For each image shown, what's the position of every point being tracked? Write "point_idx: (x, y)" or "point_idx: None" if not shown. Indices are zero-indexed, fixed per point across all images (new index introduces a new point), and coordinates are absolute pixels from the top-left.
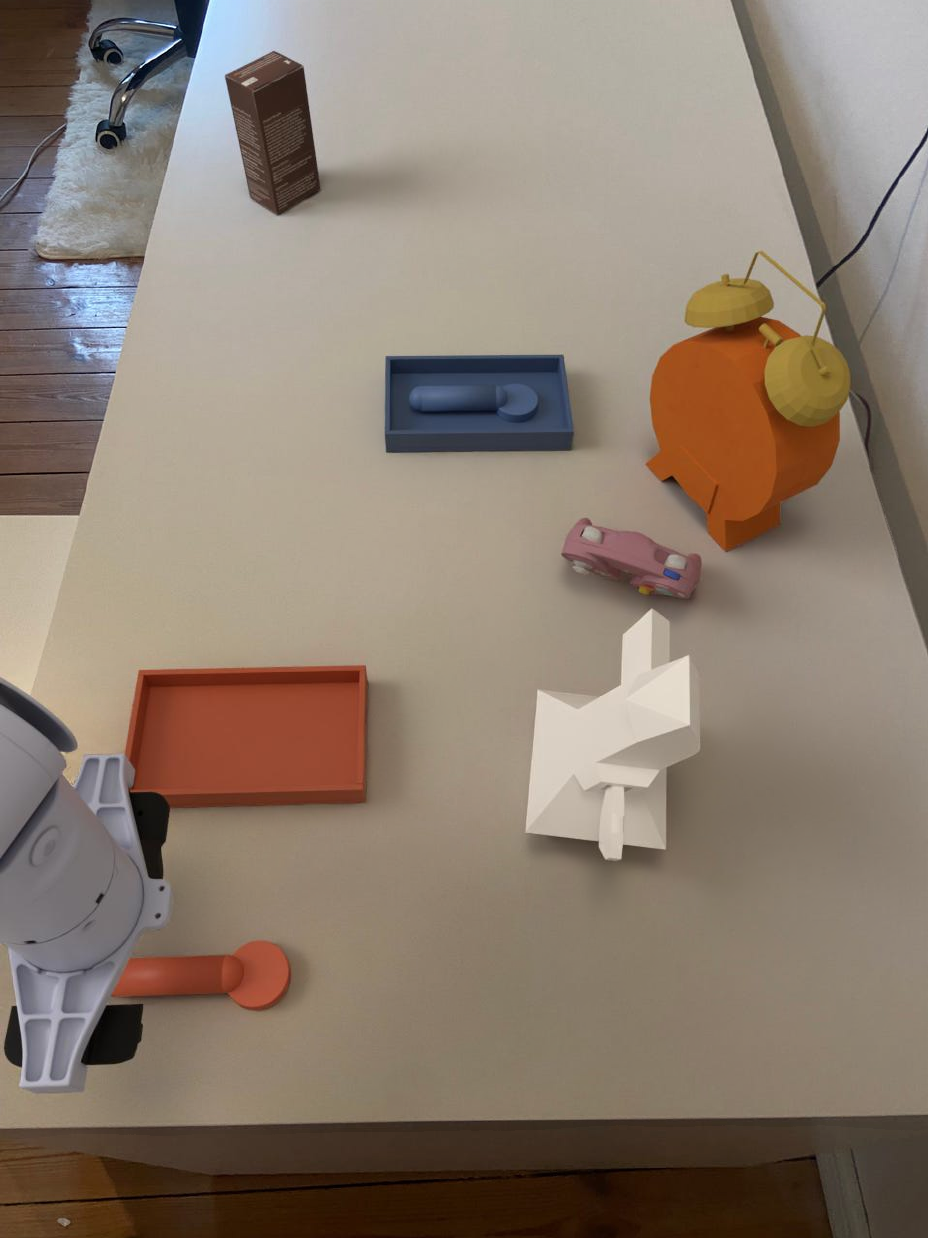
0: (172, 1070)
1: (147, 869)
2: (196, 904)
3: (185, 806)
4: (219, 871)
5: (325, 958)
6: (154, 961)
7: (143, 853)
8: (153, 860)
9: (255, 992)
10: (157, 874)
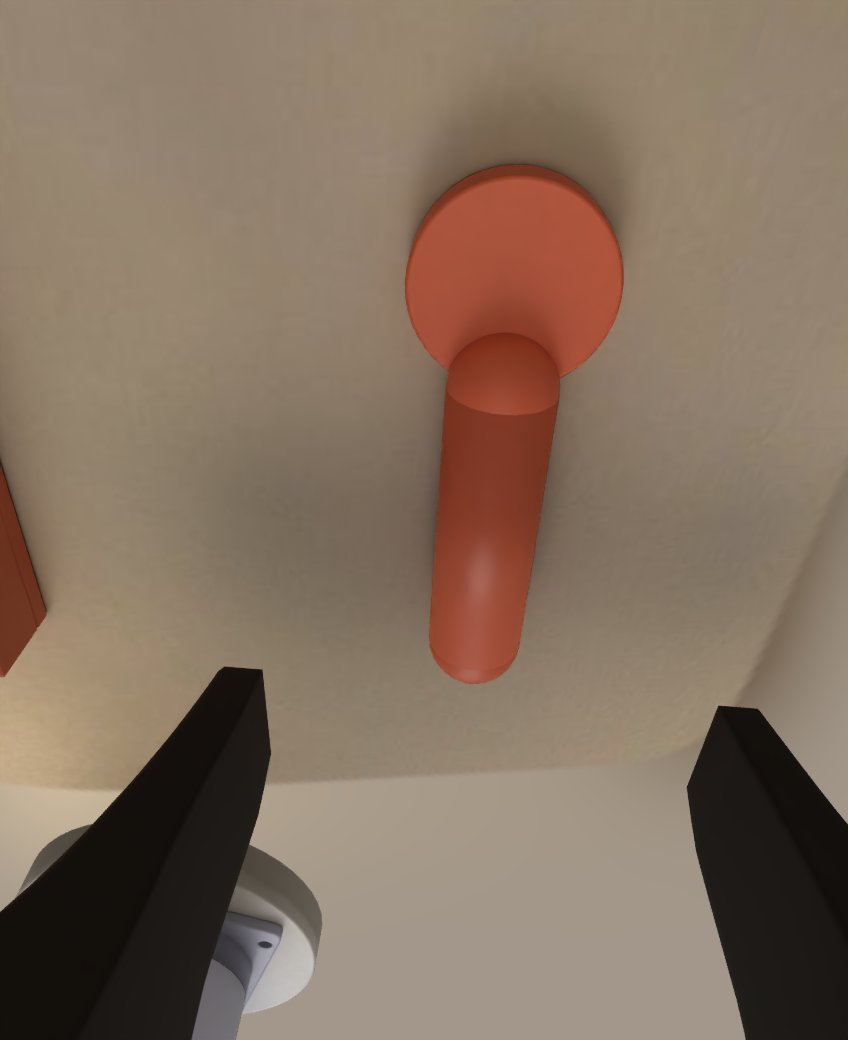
0: (716, 497)
1: (195, 837)
2: (283, 455)
3: (4, 494)
4: (182, 397)
5: (477, 20)
6: (452, 582)
7: (116, 1027)
8: (151, 908)
9: (574, 295)
10: (212, 776)
